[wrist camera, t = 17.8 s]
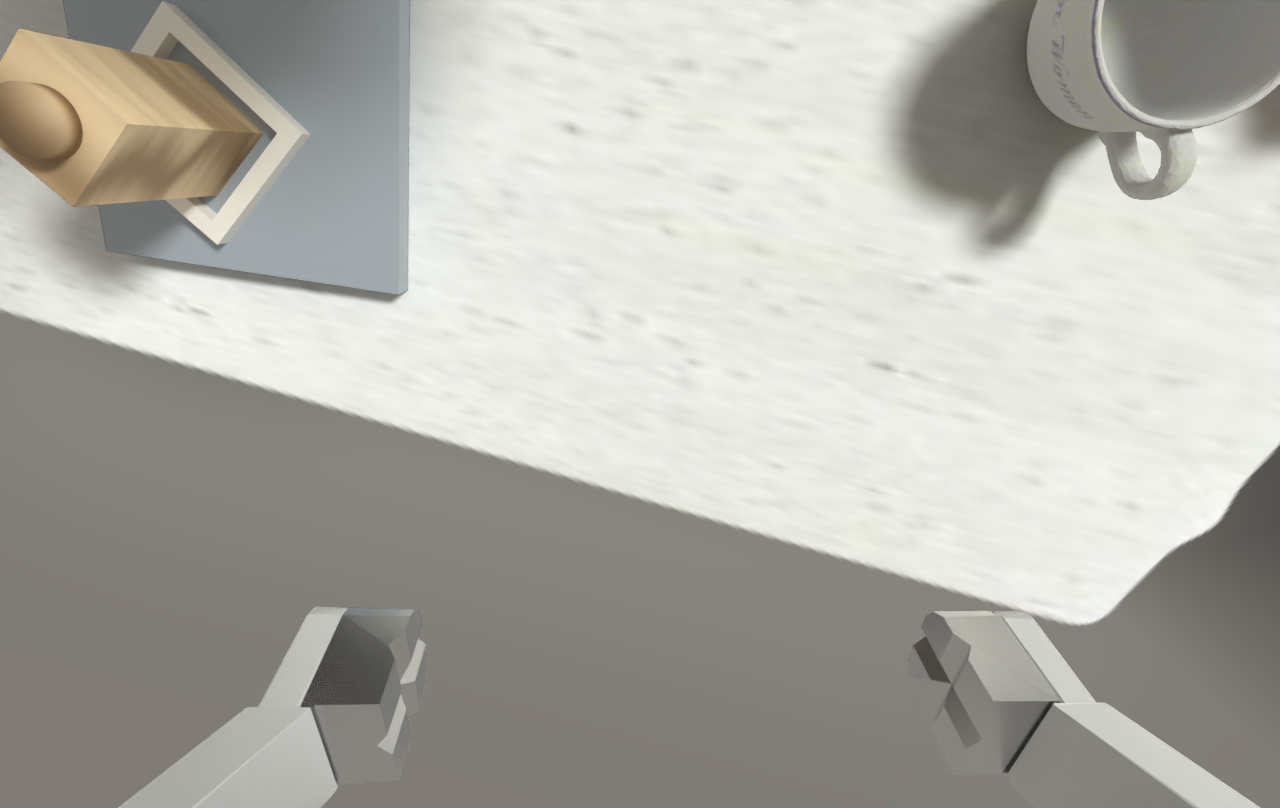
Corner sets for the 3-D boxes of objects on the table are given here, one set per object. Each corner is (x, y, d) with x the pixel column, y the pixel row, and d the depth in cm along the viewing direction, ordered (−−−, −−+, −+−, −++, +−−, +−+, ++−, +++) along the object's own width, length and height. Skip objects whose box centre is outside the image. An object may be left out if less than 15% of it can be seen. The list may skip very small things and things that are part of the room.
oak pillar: (189, 64, 35) (-6, 23, 24) (263, 133, 36) (108, 122, 26) (144, 130, 36) (-58, 118, 26) (217, 195, 37) (53, 208, 27)
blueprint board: (71, -85, 33) (46, -96, 32) (409, -29, 34) (399, -37, 33) (125, 247, 40) (106, 250, 39) (407, 290, 41) (399, 294, 39)
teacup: (1033, -91, 32) (1145, -165, 25) (1236, -77, 33) (1408, -147, 25) (965, 187, 38) (1042, 193, 30) (1140, 198, 38) (1260, 208, 30)
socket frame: (175, 5, 34) (162, 1, 33) (310, 134, 36) (301, 133, 35) (96, 129, 36) (81, 128, 35) (227, 242, 38) (217, 244, 37)
